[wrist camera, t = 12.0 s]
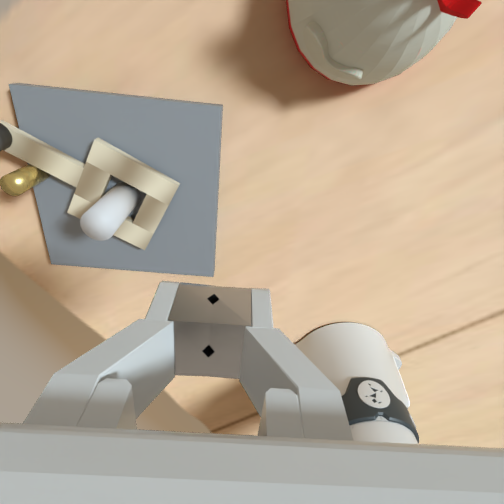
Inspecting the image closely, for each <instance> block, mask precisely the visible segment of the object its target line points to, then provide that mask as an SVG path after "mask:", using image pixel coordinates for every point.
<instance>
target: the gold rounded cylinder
mask: <svg viewBox="0 0 504 504" xmlns="http://www.w3.org/2000/svg"><path fill="white" fill-rule="evenodd" d="M49 177H50V174H49V173H47V172H45V171H43V170H41V169H39V168H37V167H35V166H33V165H31V164H28V165H26V166H24V167H22V168H20V169H18V170H16V171H13V172H11V173H9V174H7V175H5V176H3V177H2V178H1V179H0V186H1V188H2V189H3V191H4V192H6V193H7V194H9V195H11V196H18V195H20V194H22V193H24V192H25V191H27V190H29V189H31V188H32V187H34V186H36V185H38V184H39V183H41V182H43V181H44V180H46V179H48V178H49Z"/></svg>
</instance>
